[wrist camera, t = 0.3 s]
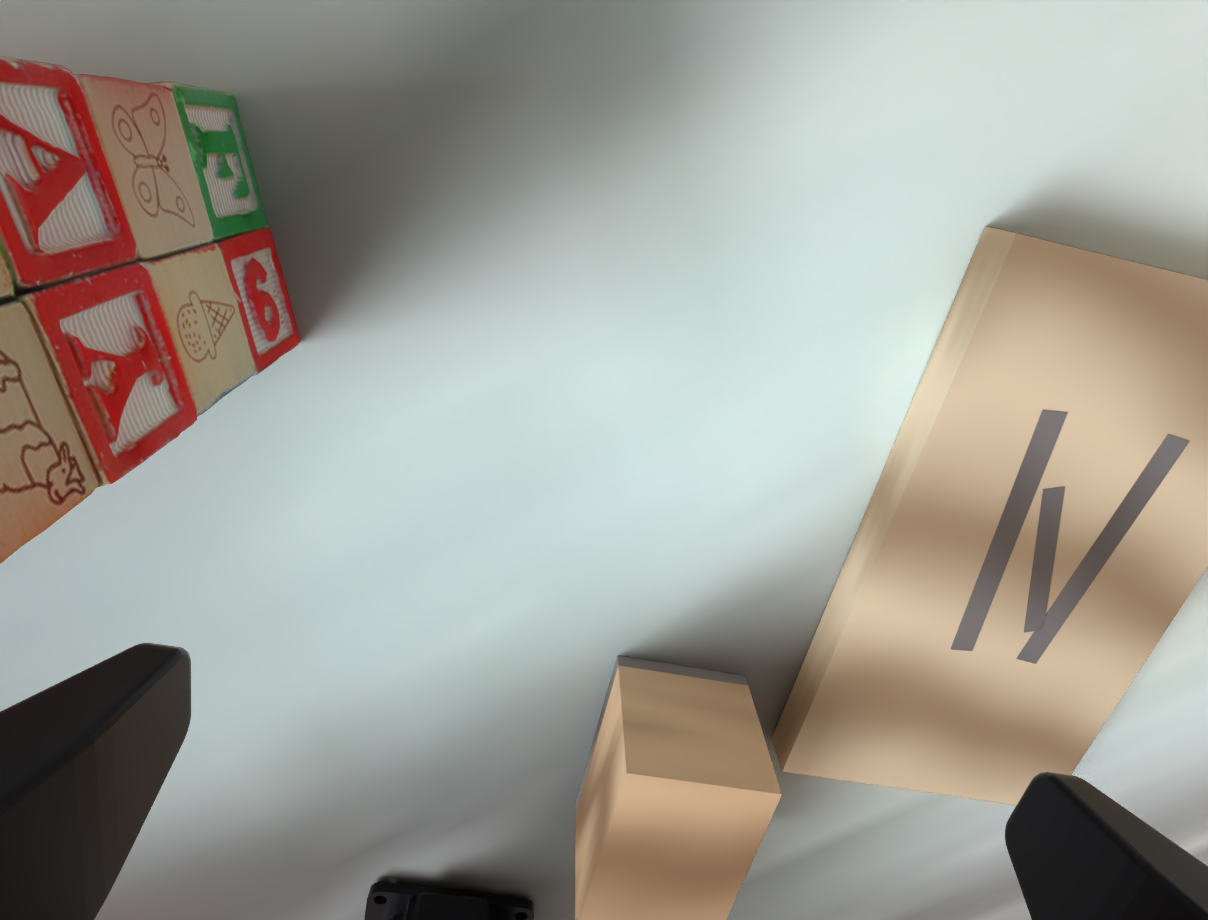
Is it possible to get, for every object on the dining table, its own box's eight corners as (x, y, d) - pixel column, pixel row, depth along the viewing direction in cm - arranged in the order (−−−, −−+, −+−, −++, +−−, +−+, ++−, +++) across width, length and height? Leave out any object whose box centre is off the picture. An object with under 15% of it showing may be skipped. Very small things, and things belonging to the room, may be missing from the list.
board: (1024, 775, 27) (1048, 810, 26) (771, 738, 26) (782, 772, 24) (1314, 307, 20) (1370, 320, 19) (984, 226, 19) (1017, 233, 17)
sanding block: (690, 815, 28) (713, 950, 23) (575, 800, 27) (574, 934, 22) (744, 673, 25) (782, 794, 20) (617, 653, 24) (626, 773, 20)
